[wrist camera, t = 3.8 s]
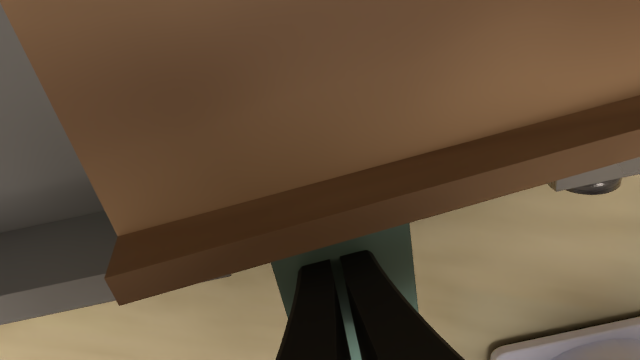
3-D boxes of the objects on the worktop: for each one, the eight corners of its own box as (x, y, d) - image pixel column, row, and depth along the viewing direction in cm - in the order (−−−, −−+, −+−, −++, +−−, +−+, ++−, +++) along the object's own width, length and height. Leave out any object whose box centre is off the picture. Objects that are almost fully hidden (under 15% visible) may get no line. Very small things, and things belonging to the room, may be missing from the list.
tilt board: (865, 177, 13) (1011, 228, 11) (205, 381, 11) (203, 499, 9) (1081, -274, 9) (1429, -362, 6) (-4, -57, 7) (-133, -61, 4)
